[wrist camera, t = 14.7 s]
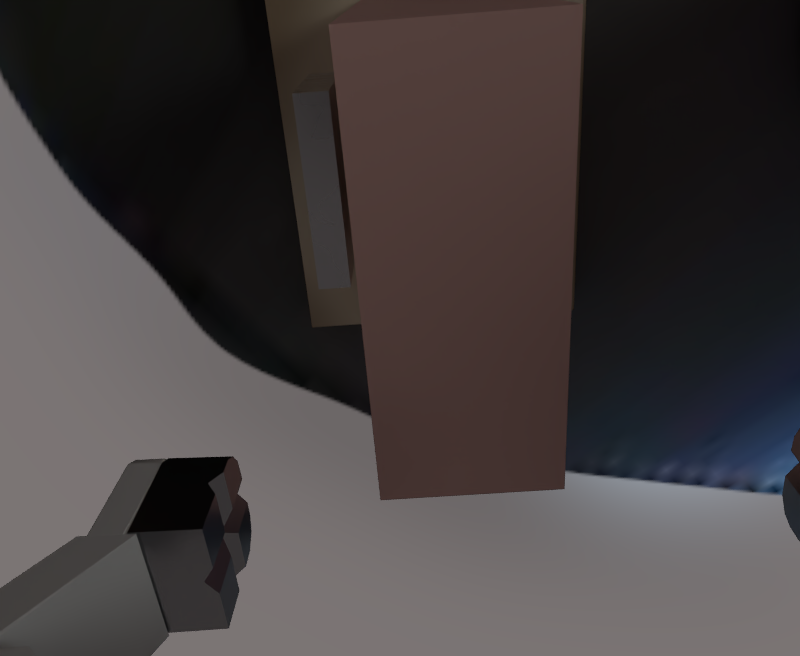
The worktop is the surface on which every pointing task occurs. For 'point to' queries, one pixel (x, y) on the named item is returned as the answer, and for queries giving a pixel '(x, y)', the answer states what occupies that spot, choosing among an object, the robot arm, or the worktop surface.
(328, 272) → the grey thin rectangular slab
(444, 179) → the boxed book
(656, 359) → the worktop surface
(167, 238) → the worktop surface
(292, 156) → the beige panel with ridge
